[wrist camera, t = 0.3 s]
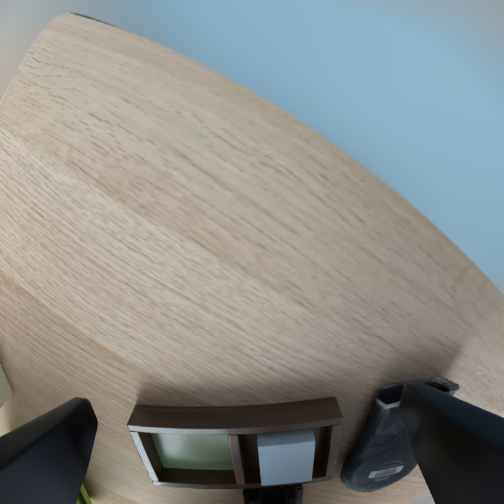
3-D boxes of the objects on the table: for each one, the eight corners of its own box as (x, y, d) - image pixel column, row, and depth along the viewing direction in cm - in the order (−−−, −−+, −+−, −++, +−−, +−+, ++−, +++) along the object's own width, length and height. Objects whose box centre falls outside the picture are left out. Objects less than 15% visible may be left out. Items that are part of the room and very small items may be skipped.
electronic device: (354, 378, 25) (330, 488, 27) (385, 408, 20) (347, 521, 21) (431, 363, 27) (398, 469, 28) (465, 384, 21) (421, 494, 23)
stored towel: (306, 458, 25) (311, 481, 22) (260, 463, 25) (261, 486, 22) (309, 417, 24) (315, 441, 21) (256, 422, 24) (257, 446, 21)
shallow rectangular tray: (327, 460, 26) (332, 479, 23) (159, 466, 26) (153, 485, 23) (335, 396, 24) (343, 417, 21) (135, 404, 24) (126, 424, 21)
